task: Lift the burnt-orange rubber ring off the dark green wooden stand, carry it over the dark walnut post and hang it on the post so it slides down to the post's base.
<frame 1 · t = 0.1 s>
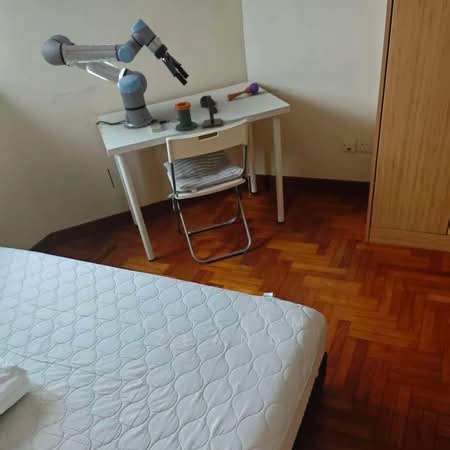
hand: (186, 80, 231), 15 cm above the table, tool tilted 35°, fingers open, 13 cm apart
stand: (186, 127, 220), on the table
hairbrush: (210, 107, 241), on the table
ring: (183, 107, 213), point 10 cm above the table, touching stand
post: (212, 124, 219), on the table
kendama: (243, 97, 248), on the table
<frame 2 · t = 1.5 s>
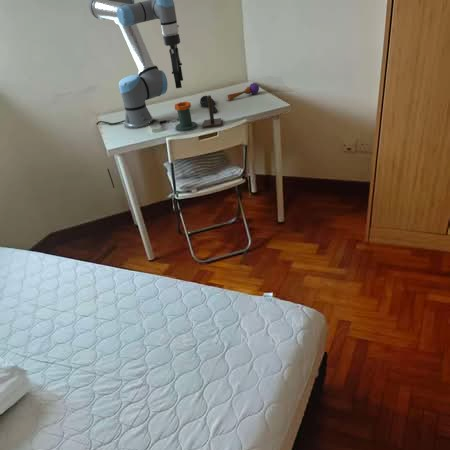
hand: (179, 84, 206), 21 cm above the table, tool pointing down, fingers open, 13 cm apart
nothing on the table moved.
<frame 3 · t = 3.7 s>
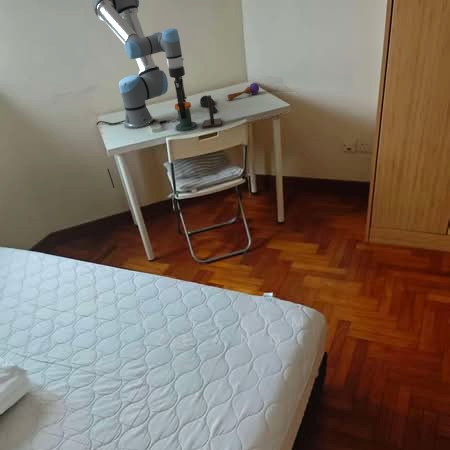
hand: (184, 115, 216), 6 cm above the table, tool pointing down, fingers closed on ring, 8 cm apart
ring: (183, 107, 213), point 10 cm above the table, touching gripper, stand
everything else where it was.
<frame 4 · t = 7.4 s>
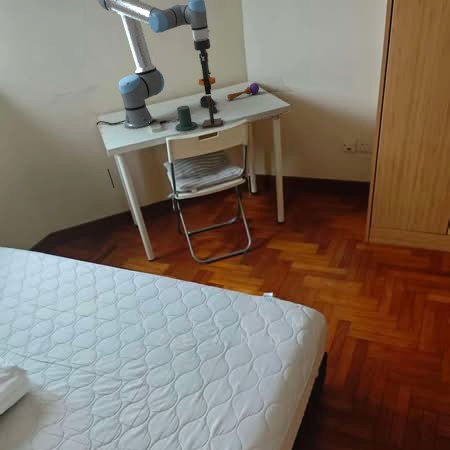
hand: (208, 91, 208), 16 cm above the table, tool pointing down, fingers closed on ring, 8 cm apart
ring: (207, 83, 205), point 20 cm above the table, touching gripper
everything else where it was.
when the fingers open (2 cm above the table, at t = 11.1 s): ring drops 5 cm, resting on post.
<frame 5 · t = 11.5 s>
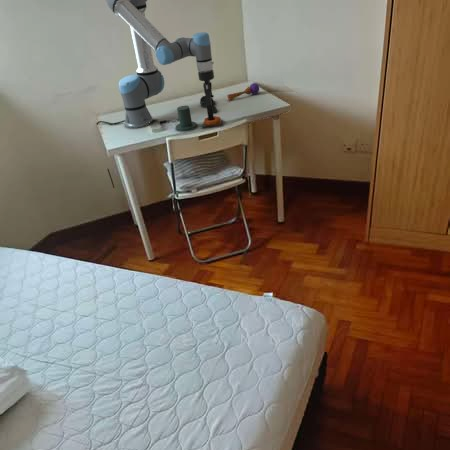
hand: (211, 115, 216), 4 cm above the table, tool pointing down, fingers open, 13 cm apart
ring: (212, 121, 218), point 1 cm above the table, touching post
everything else where it was.
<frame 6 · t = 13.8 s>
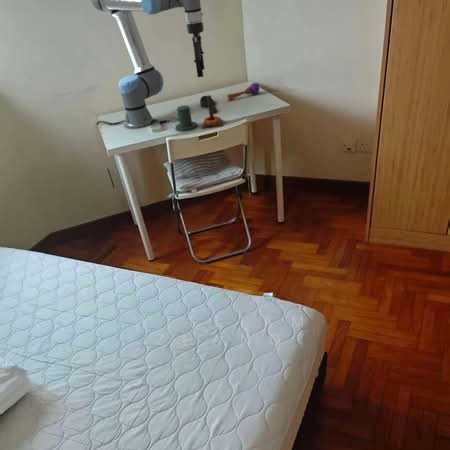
hand: (201, 73, 206), 24 cm above the table, tool pointing down, fingers open, 13 cm apart
nothing on the table moved.
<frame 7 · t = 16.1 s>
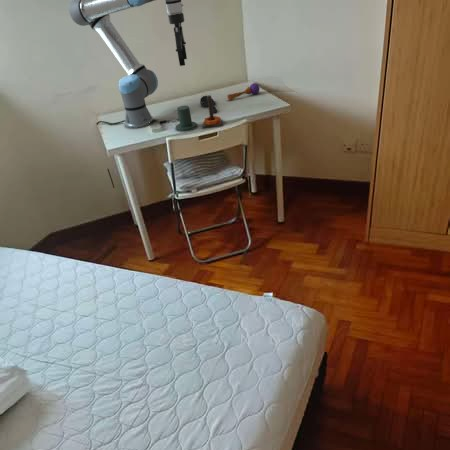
hand: (183, 62, 215), 27 cm above the table, tool pointing down, fingers open, 13 cm apart
nothing on the table moved.
at the end: ring 0.0 cm from the post (horizontally); ring point 1.2 cm above the table; the gripper is holding nothing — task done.
